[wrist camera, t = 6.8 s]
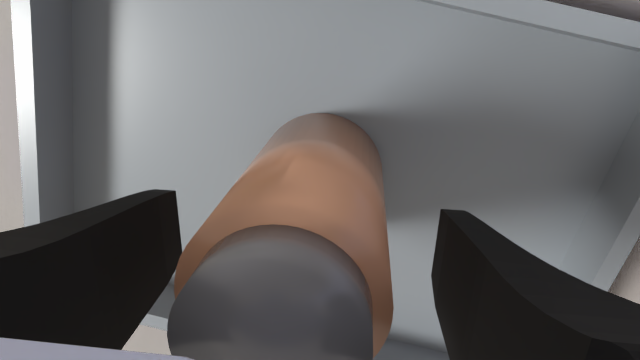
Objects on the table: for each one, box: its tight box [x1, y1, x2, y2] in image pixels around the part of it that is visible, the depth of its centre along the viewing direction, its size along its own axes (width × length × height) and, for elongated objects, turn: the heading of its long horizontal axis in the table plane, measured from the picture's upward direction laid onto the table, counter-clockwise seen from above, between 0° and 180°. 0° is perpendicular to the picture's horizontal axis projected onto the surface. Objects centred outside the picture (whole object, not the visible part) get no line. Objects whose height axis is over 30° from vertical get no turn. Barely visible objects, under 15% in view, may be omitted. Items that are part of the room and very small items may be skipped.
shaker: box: [167, 113, 394, 360], centre depth 11 cm, size 4×4×9 cm
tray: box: [11, 0, 640, 360], centre depth 15 cm, size 20×14×2 cm
